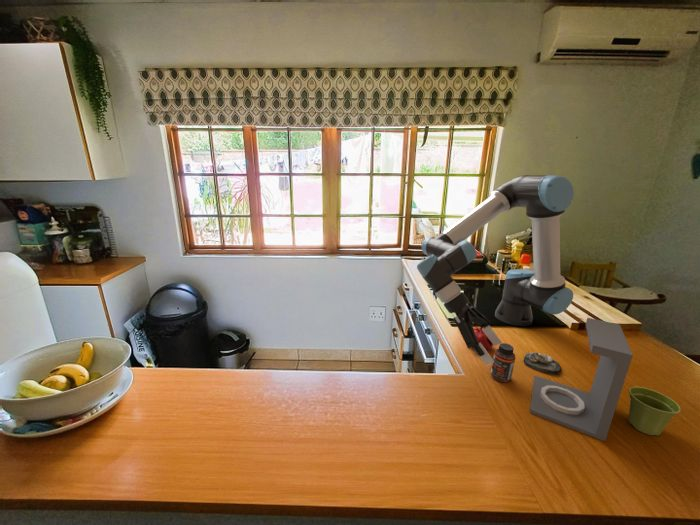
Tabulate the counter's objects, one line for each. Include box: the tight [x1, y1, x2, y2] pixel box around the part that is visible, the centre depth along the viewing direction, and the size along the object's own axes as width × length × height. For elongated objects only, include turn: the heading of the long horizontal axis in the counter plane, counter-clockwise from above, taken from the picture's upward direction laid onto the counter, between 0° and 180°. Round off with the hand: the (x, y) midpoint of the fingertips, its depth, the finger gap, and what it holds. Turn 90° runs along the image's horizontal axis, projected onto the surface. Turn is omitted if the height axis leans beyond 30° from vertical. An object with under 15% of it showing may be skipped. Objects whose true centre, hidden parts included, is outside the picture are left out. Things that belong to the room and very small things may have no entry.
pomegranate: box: [473, 325, 494, 352], centre depth 112 cm, size 10×10×9 cm
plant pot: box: [628, 386, 682, 437], centre depth 77 cm, size 9×9×9 cm
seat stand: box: [529, 317, 633, 442], centre depth 81 cm, size 18×16×24 cm
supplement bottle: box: [490, 342, 516, 383], centre depth 94 cm, size 6×6×11 cm
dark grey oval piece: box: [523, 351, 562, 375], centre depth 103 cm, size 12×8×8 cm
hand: (494, 353), depth 94 cm, fingers open, 13 cm apart
